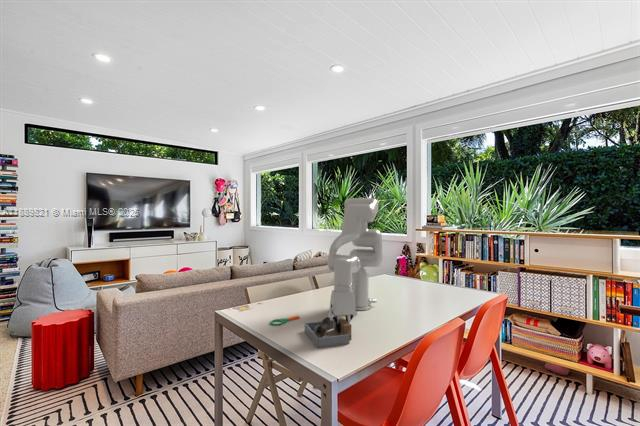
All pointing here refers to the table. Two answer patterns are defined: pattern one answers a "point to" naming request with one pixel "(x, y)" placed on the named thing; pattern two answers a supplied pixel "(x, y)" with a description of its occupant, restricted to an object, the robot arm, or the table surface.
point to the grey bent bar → (325, 340)
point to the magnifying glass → (283, 320)
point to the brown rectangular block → (343, 327)
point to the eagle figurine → (323, 326)
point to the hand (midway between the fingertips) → (342, 331)
